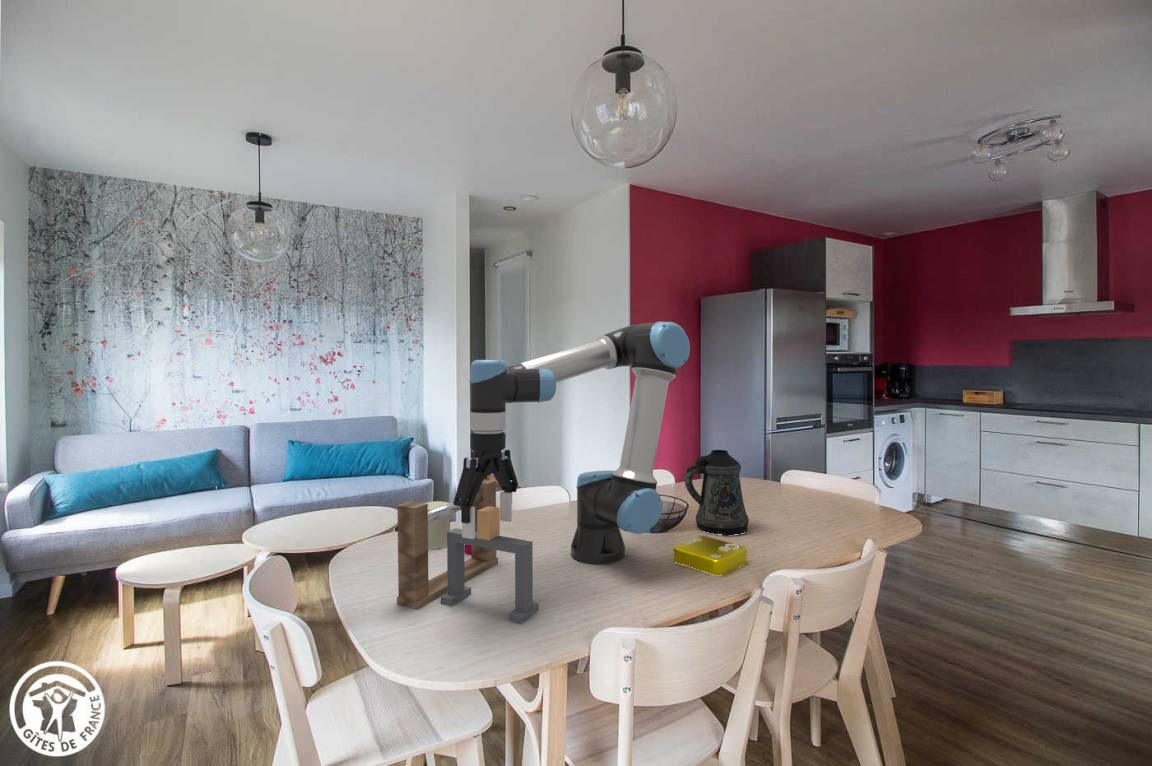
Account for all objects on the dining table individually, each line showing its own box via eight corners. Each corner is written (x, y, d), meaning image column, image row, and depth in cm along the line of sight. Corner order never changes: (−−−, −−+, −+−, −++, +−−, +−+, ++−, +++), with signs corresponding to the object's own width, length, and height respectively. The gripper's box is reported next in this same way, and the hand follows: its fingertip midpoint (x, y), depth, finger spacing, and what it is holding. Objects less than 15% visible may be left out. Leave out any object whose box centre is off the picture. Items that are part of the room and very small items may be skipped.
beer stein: (759, 530, 172) (760, 452, 171) (718, 542, 161) (719, 458, 160) (718, 518, 186) (719, 445, 185) (678, 527, 175) (678, 450, 174)
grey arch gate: (538, 610, 117) (538, 511, 116) (521, 624, 111) (520, 519, 110) (460, 591, 127) (460, 499, 126) (440, 603, 120) (439, 507, 119)
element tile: (701, 549, 156) (701, 533, 156) (749, 563, 145) (750, 545, 145) (670, 562, 146) (670, 545, 145) (719, 579, 135) (719, 560, 135)
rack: (497, 563, 144) (497, 480, 143) (417, 609, 117) (416, 508, 117) (479, 559, 147) (478, 478, 146) (396, 603, 120) (395, 505, 119)
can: (421, 539, 163) (421, 500, 163) (453, 538, 164) (452, 499, 164) (415, 550, 154) (415, 508, 154) (448, 549, 155) (448, 507, 154)
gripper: (506, 424, 130) (506, 512, 131) (435, 437, 108) (435, 543, 109) (533, 426, 127) (532, 516, 127) (465, 439, 104) (465, 549, 105)
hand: (488, 528), depth 118 cm, fingers open, 13 cm apart
